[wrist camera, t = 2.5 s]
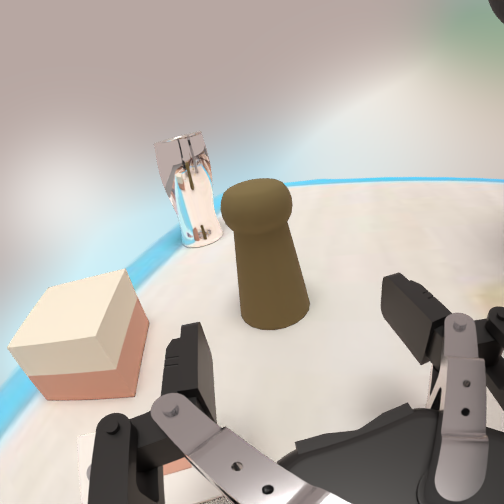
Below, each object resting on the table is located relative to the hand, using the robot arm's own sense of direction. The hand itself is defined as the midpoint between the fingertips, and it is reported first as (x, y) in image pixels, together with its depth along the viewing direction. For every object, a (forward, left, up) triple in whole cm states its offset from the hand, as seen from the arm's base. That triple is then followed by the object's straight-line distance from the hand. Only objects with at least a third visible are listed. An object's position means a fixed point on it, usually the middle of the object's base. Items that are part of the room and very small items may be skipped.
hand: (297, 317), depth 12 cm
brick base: (+8, -16, -8) cm, 20 cm away
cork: (-7, -9, -8) cm, 14 cm away
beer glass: (-13, -29, -8) cm, 33 cm away
